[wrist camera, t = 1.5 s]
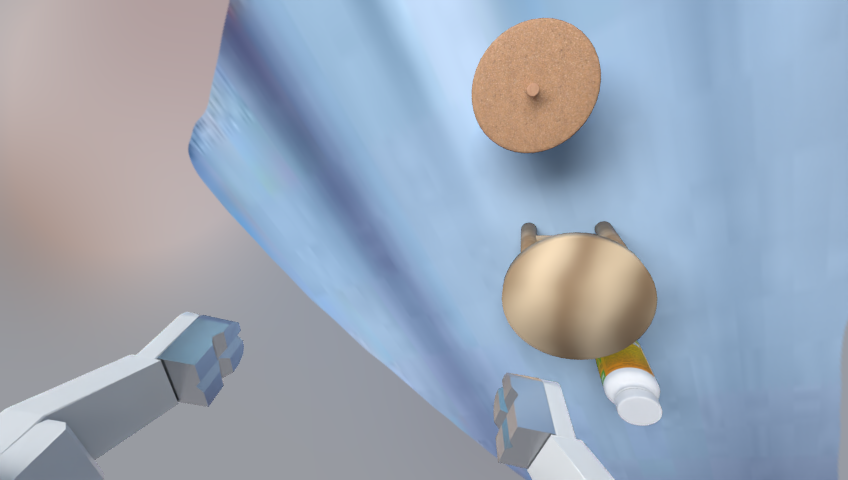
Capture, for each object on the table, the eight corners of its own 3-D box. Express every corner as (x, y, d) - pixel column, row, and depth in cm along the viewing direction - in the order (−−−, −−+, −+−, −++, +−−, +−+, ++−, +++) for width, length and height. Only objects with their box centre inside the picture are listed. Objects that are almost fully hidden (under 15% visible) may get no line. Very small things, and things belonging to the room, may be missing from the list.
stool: (633, 204, 36) (668, 237, 27) (620, 310, 41) (646, 366, 32) (505, 208, 40) (500, 238, 32) (507, 304, 45) (503, 352, 37)
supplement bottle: (585, 337, 44) (601, 397, 35) (630, 325, 42) (659, 386, 33) (602, 368, 45) (621, 434, 36) (646, 358, 43) (679, 427, 34)
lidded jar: (587, 24, 31) (610, -4, 23) (583, 138, 35) (601, 149, 27) (477, 47, 35) (463, 29, 26) (484, 149, 38) (473, 161, 30)
